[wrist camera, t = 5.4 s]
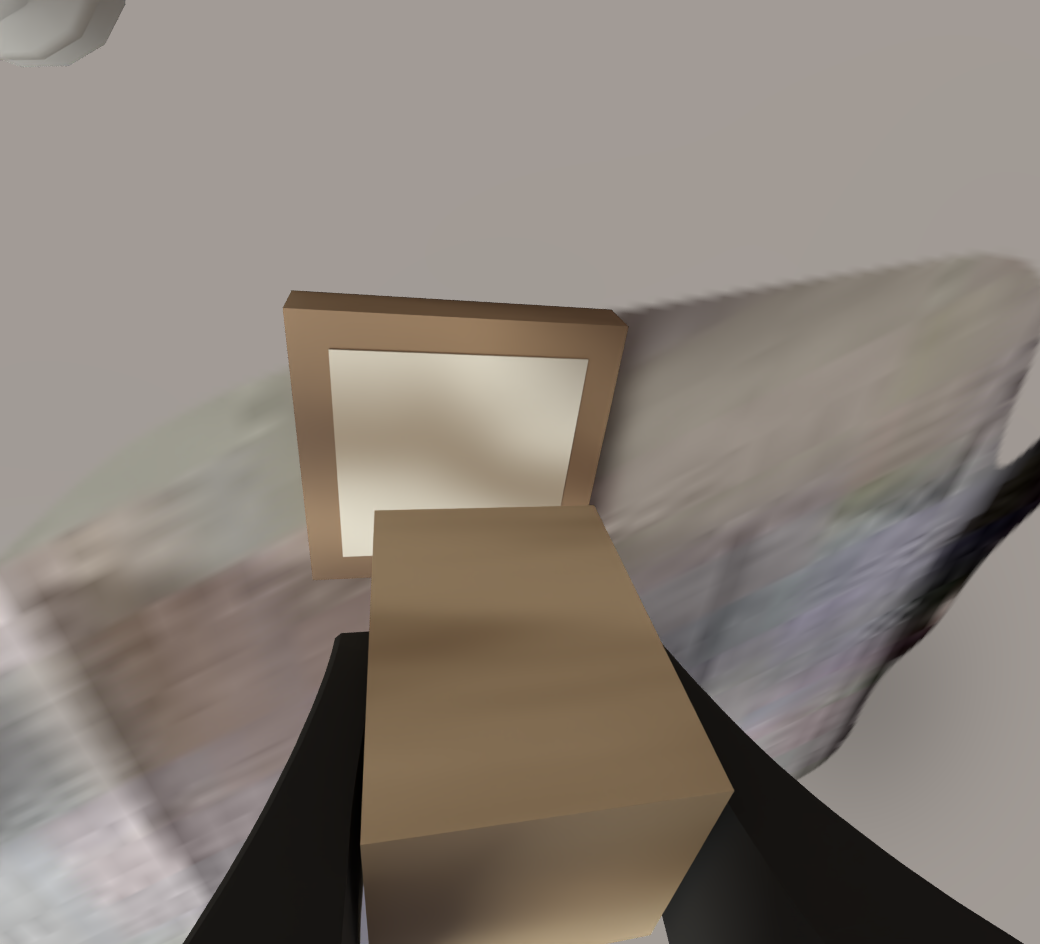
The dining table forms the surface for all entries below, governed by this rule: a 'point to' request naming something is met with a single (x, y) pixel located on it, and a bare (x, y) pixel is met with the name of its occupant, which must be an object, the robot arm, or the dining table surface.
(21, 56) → the rook chess piece
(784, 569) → the dining table surface
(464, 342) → the picture frame
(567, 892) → the oak block
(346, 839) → the robot arm
